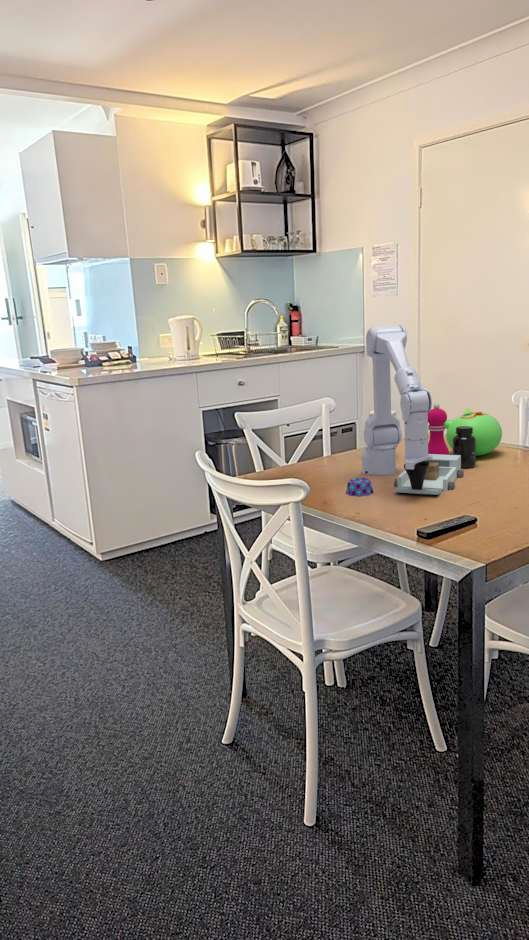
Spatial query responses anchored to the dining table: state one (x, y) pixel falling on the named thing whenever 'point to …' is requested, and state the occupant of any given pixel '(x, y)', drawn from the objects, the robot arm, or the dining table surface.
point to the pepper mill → (437, 431)
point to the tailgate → (418, 491)
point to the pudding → (359, 487)
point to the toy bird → (477, 430)
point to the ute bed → (447, 473)
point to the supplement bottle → (465, 446)
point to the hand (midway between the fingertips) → (417, 490)
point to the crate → (432, 471)
